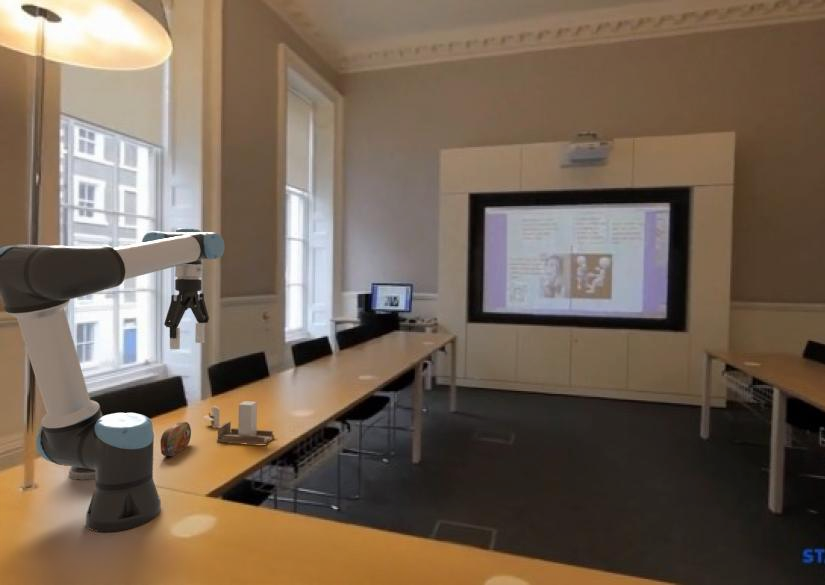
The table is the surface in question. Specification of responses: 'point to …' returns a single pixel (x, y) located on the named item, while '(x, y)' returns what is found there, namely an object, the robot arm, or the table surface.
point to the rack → (232, 436)
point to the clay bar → (247, 419)
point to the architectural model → (213, 416)
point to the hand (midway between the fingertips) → (187, 345)
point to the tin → (175, 439)
